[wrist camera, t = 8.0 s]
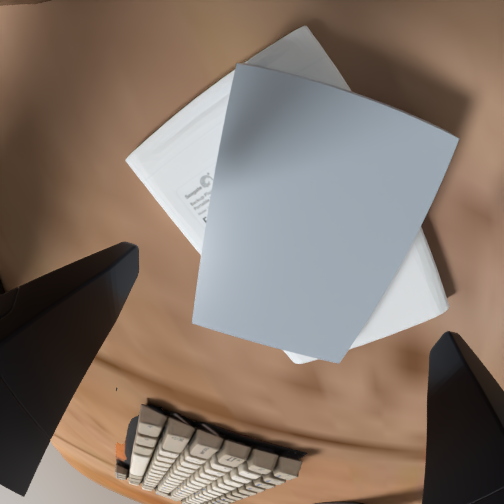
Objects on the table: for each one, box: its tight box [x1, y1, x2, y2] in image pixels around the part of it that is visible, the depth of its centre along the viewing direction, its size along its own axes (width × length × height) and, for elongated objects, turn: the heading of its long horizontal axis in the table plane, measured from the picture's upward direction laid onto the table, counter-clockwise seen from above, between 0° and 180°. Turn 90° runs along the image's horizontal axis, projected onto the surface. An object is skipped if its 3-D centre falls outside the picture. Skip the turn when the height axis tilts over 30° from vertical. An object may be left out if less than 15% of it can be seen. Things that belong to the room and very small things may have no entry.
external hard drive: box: [126, 26, 449, 364], centre depth 12 cm, size 2×8×12 cm
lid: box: [192, 63, 459, 363], centre depth 11 cm, size 7×10×1 cm, turn 168°
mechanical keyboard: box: [115, 388, 307, 504], centre depth 33 cm, size 38×19×3 cm, turn 160°
